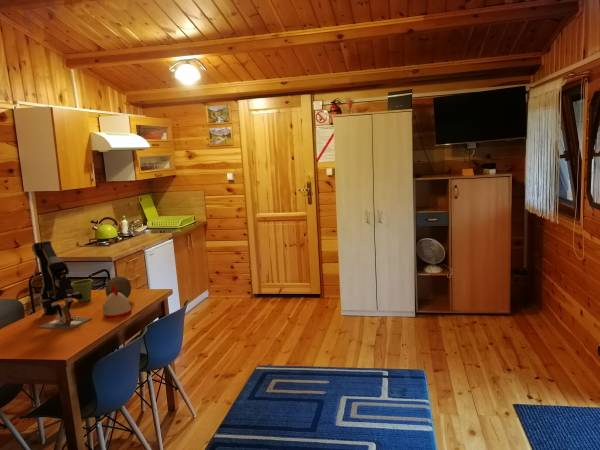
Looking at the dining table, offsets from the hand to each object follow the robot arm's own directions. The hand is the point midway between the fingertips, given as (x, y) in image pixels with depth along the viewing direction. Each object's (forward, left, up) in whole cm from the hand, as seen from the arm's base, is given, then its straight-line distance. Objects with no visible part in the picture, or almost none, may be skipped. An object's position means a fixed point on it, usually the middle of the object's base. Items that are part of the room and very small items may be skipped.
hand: (64, 315), depth 236 cm
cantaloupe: (+8, +33, -4) cm, 34 cm away
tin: (0, 0, -4) cm, 4 cm away
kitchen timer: (+19, +16, -4) cm, 25 cm away
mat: (0, 0, -4) cm, 4 cm away
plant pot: (-19, +36, -4) cm, 41 cm away
